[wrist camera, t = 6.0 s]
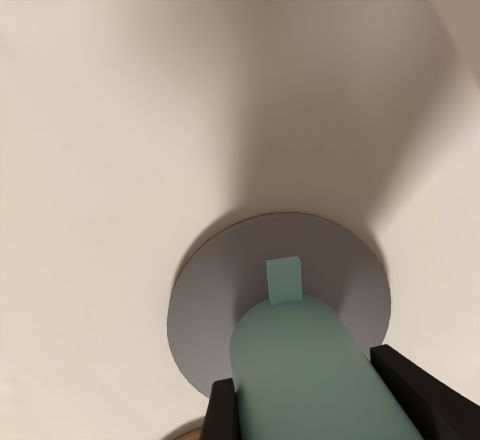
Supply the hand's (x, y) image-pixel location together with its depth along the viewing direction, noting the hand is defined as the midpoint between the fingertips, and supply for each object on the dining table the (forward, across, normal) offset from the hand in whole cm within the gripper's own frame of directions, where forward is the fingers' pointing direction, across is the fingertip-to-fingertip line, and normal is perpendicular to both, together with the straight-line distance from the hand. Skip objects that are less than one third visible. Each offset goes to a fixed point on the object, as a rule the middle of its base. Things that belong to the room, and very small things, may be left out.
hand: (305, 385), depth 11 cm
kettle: (+2, 0, 0) cm, 2 cm away
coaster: (+4, 0, 0) cm, 4 cm away
